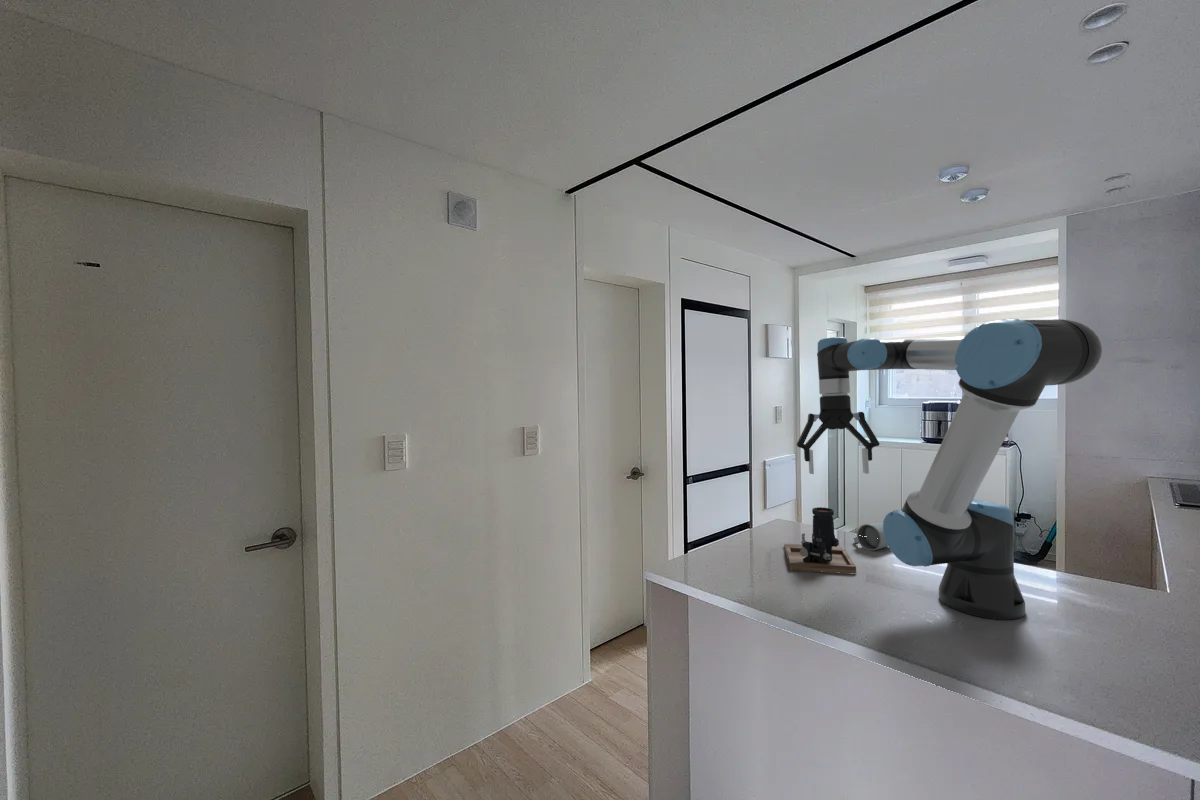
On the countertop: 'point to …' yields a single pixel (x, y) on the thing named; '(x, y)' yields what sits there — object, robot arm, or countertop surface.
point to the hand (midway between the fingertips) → (838, 473)
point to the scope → (820, 537)
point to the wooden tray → (838, 564)
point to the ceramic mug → (871, 536)
